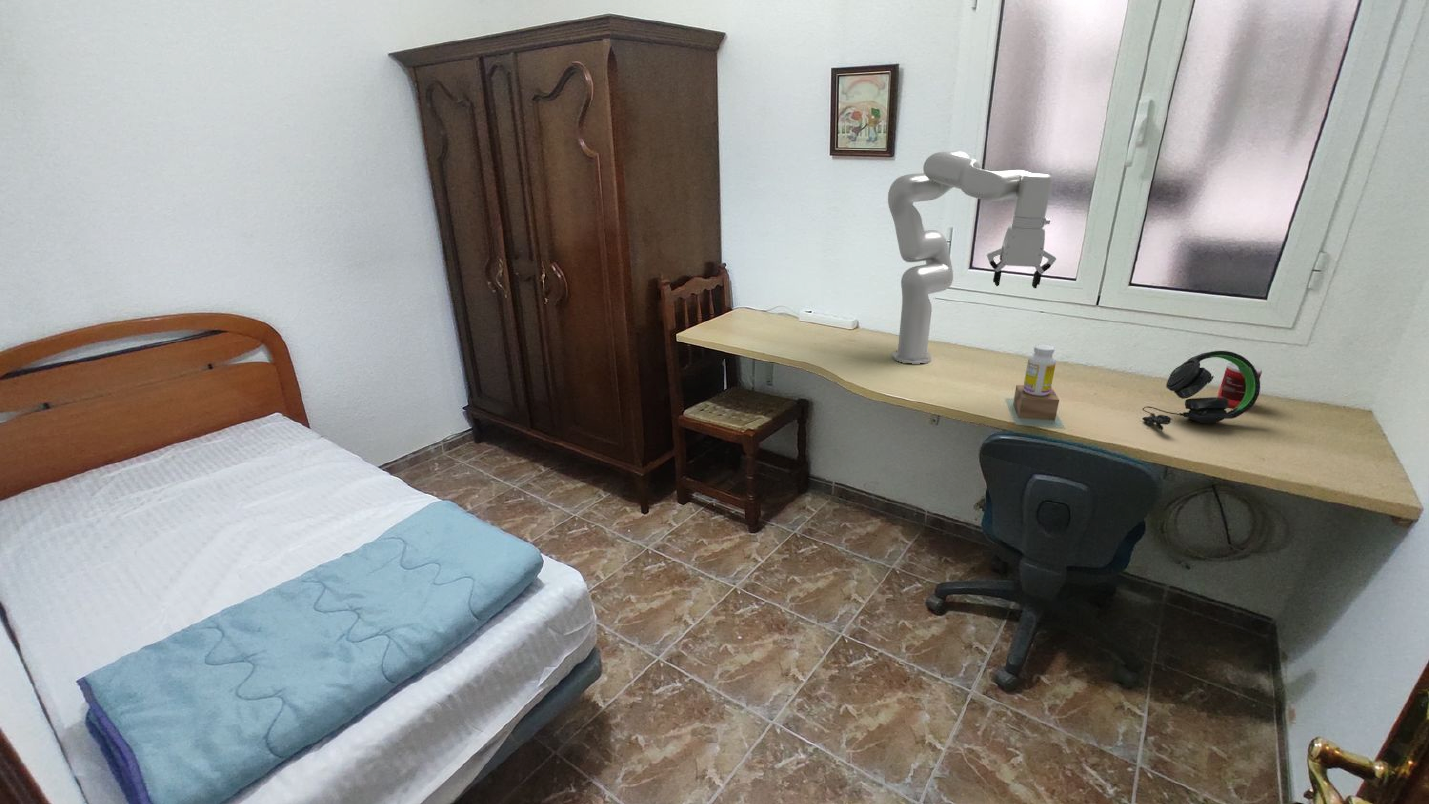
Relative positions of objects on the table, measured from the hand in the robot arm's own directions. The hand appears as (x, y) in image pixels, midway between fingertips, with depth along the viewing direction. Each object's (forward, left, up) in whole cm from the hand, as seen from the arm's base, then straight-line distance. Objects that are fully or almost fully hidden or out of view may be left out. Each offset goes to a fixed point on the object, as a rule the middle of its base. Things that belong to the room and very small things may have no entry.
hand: (1015, 286), depth 178 cm
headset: (+12, +47, -32) cm, 58 cm away
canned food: (-4, +62, -32) cm, 70 cm away
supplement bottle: (+14, +7, -26) cm, 30 cm away
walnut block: (+14, +7, -32) cm, 35 cm away
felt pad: (+14, +7, -32) cm, 36 cm away
